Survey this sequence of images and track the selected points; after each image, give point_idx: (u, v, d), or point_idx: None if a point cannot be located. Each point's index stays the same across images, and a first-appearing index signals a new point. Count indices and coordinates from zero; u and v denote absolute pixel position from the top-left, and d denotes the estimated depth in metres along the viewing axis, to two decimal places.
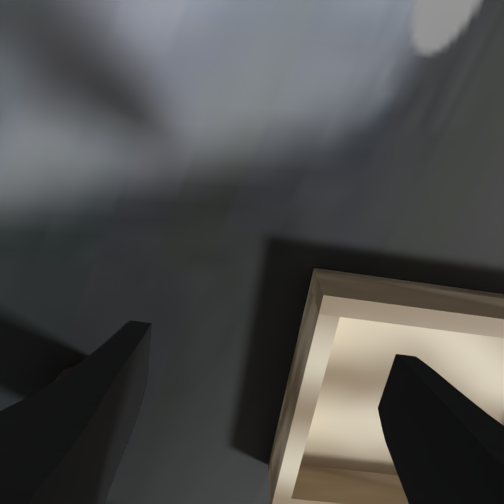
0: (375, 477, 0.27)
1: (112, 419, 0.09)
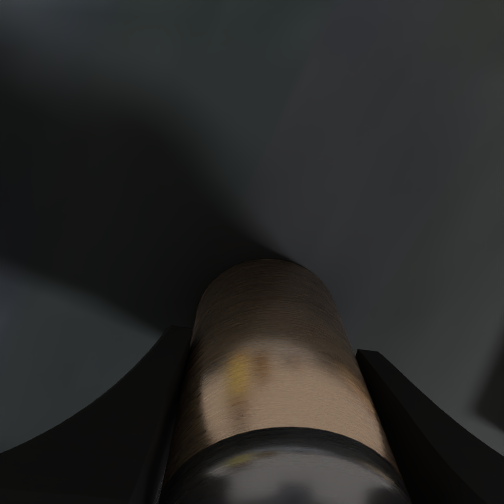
0: None
1: (165, 425, 0.09)
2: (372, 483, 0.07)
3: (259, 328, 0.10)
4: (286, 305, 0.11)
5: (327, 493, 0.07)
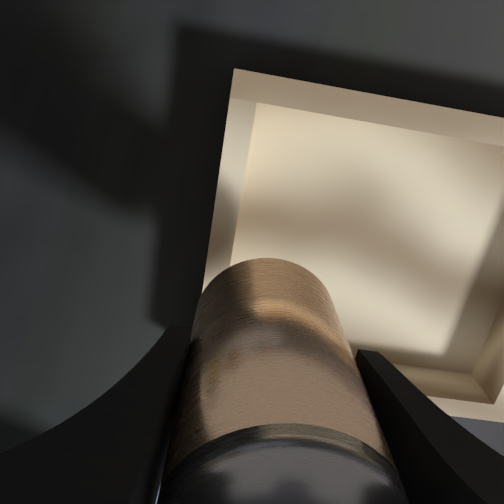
0: None
1: (165, 425, 0.09)
2: (373, 481, 0.07)
3: (262, 326, 0.10)
4: (288, 304, 0.11)
5: (329, 489, 0.07)
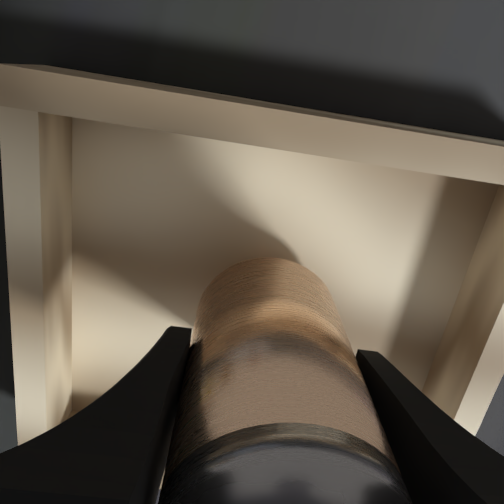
0: None
1: (165, 425, 0.09)
2: (376, 481, 0.07)
3: (263, 325, 0.10)
4: (290, 303, 0.11)
5: (332, 489, 0.07)
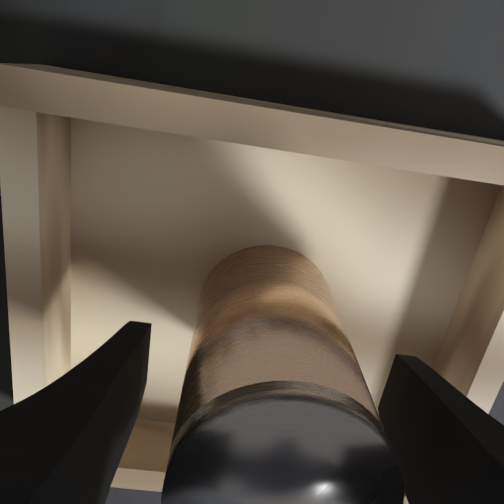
0: None
1: (112, 419, 0.09)
2: (360, 428, 0.08)
3: (263, 303, 0.11)
4: (286, 285, 0.12)
5: (322, 436, 0.08)
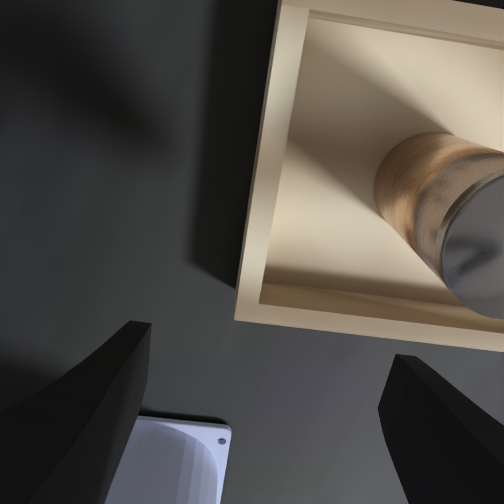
0: (364, 296, 0.22)
1: (112, 419, 0.09)
2: None
3: (469, 147, 0.16)
4: (474, 143, 0.17)
5: None
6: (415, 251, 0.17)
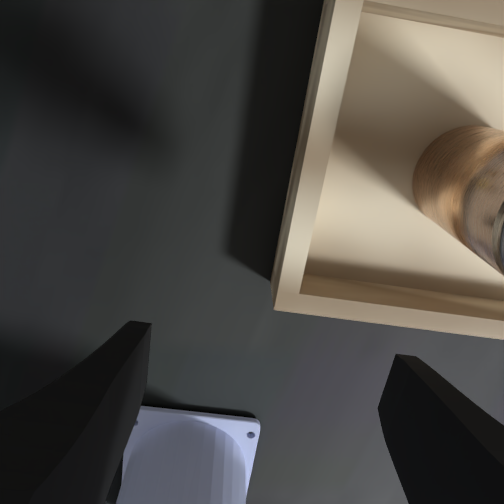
0: (399, 289, 0.22)
1: (112, 419, 0.09)
2: None
3: None
4: None
5: None
6: (463, 239, 0.17)
